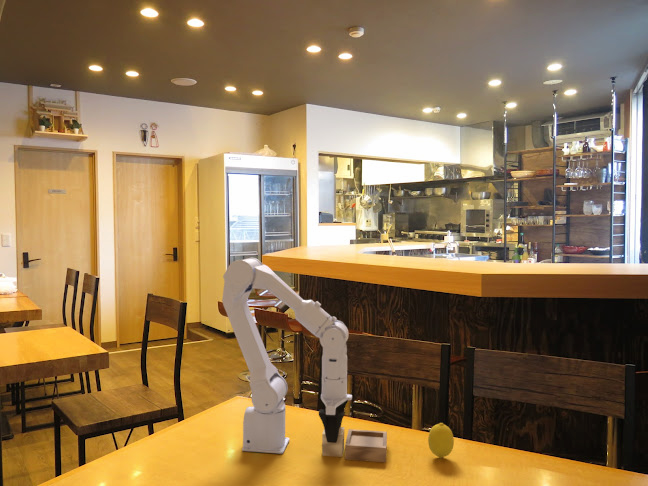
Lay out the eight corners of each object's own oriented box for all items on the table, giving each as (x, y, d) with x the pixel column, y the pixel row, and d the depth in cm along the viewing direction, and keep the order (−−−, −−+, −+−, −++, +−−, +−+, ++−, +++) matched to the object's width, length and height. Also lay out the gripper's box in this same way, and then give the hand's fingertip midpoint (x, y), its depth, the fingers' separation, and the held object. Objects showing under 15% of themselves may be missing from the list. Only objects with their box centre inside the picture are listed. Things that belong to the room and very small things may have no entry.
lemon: (453, 465, 113) (454, 428, 113) (427, 462, 114) (428, 426, 114) (452, 454, 119) (453, 419, 118) (427, 451, 120) (428, 417, 119)
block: (322, 455, 117) (322, 433, 117) (324, 447, 122) (325, 425, 122) (342, 457, 117) (342, 434, 116) (344, 448, 121) (344, 427, 121)
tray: (344, 459, 115) (345, 445, 115) (348, 442, 124) (348, 429, 124) (386, 462, 114) (386, 447, 114) (386, 445, 123) (386, 431, 123)
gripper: (349, 386, 111) (348, 449, 111) (354, 368, 125) (353, 423, 126) (316, 385, 112) (315, 447, 112) (325, 366, 126) (324, 422, 127)
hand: (333, 435), depth 119 cm, fingers open, 7 cm apart
